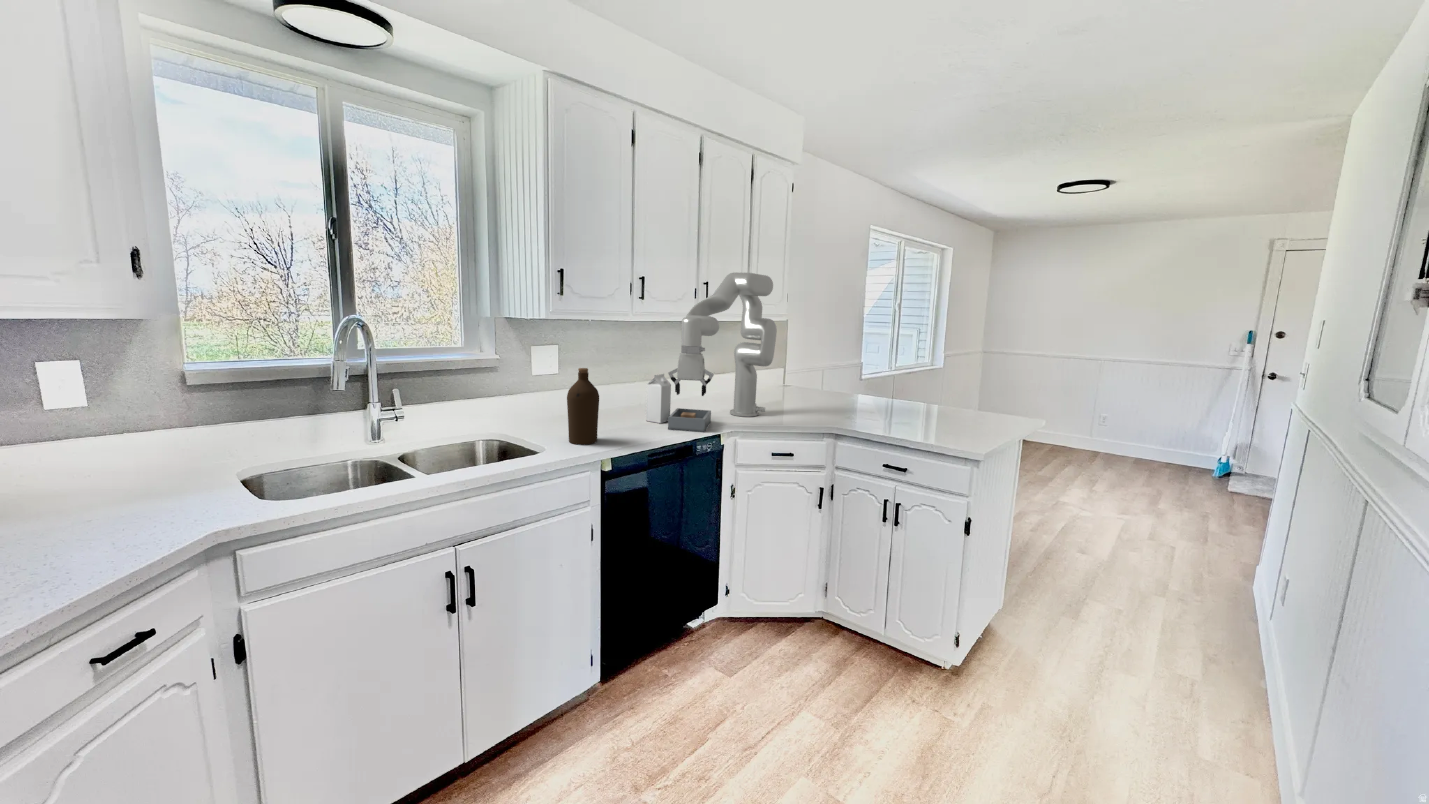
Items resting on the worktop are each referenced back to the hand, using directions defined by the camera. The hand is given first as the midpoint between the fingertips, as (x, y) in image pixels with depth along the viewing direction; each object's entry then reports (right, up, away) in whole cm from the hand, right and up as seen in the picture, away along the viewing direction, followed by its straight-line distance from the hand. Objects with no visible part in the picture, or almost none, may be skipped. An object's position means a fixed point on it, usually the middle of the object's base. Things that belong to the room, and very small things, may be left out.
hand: (690, 394), depth 221 cm
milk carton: (-14, -11, +13) cm, 22 cm away
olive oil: (-36, -16, -25) cm, 46 cm away
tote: (0, -12, +6) cm, 14 cm away
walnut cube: (-1, -12, +2) cm, 12 cm away
